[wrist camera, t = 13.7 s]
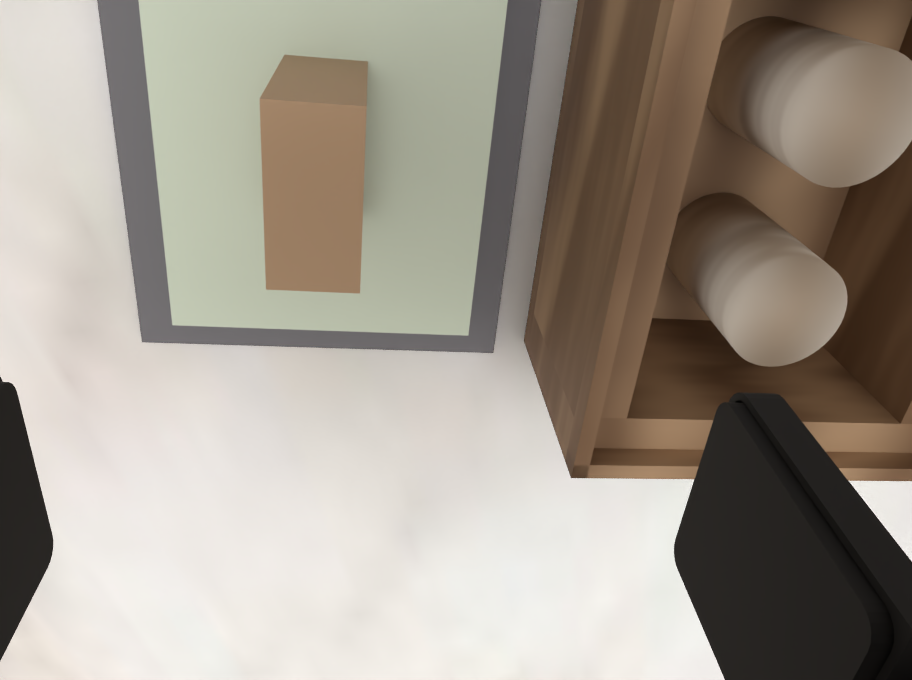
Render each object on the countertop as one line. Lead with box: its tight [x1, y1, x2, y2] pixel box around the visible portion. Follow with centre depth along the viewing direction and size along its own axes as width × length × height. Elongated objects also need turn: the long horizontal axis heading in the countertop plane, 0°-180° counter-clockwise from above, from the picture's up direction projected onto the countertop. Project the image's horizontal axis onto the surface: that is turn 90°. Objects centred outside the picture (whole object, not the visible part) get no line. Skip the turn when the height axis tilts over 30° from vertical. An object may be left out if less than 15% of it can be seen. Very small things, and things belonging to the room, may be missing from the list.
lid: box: [138, 0, 508, 336], centre depth 26 cm, size 13×17×8 cm
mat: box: [97, 0, 541, 353], centre depth 30 cm, size 16×20×1 cm
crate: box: [524, 0, 912, 481], centre depth 28 cm, size 15×19×10 cm
